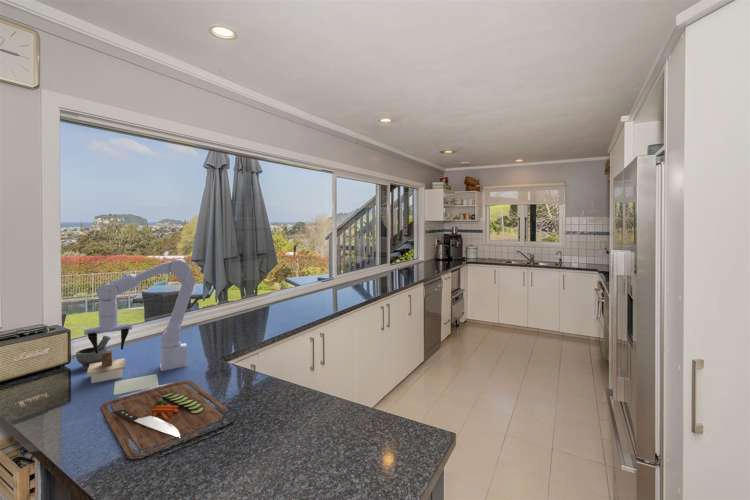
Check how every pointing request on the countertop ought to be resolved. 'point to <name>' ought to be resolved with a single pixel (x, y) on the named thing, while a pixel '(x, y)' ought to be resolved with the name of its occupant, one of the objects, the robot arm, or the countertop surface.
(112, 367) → the birch lid
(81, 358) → the mortar and pestle
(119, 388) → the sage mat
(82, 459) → the countertop surface
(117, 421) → the chopping board
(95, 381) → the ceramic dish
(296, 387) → the countertop surface
